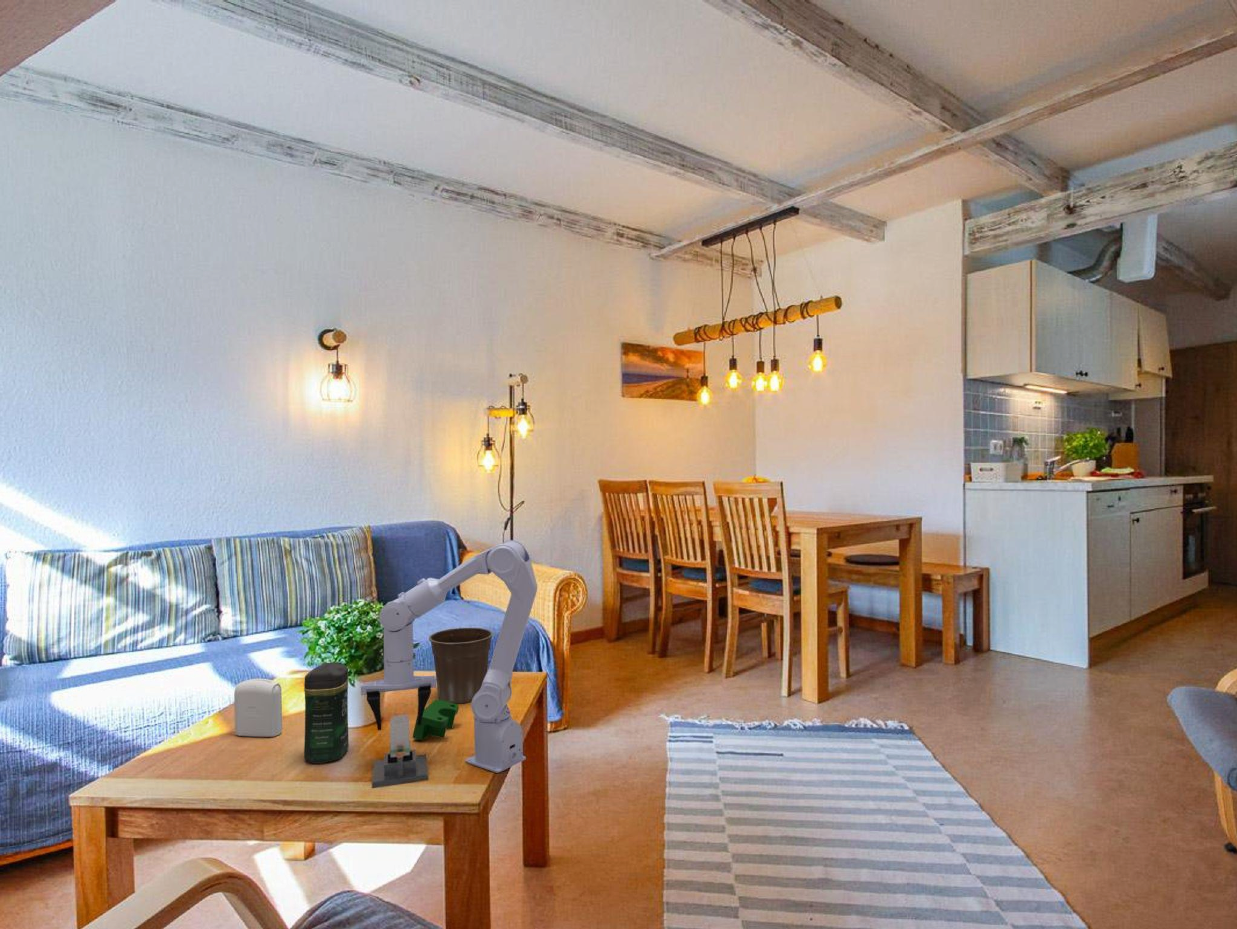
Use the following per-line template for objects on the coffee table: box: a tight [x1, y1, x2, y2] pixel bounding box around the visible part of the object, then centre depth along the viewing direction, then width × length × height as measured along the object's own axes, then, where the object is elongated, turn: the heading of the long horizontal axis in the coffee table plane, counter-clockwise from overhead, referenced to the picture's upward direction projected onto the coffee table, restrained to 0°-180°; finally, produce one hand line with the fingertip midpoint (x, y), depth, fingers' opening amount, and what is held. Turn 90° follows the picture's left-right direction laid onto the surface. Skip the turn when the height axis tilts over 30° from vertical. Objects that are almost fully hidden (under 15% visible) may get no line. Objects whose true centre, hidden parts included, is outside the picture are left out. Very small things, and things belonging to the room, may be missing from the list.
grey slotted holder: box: [371, 749, 429, 789], centre depth 135 cm, size 10×10×5 cm
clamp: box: [412, 698, 460, 742], centre depth 155 cm, size 12×6×9 cm, turn 168°
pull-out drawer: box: [389, 713, 411, 757], centre depth 135 cm, size 4×5×6 cm
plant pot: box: [428, 627, 494, 705], centre depth 180 cm, size 16×16×16 cm
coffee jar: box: [303, 661, 350, 764], centre depth 144 cm, size 10×8×19 cm
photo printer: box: [233, 678, 283, 738], centre depth 156 cm, size 10×4×12 cm, turn 81°
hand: (399, 726), depth 141 cm, fingers open, 7 cm apart
